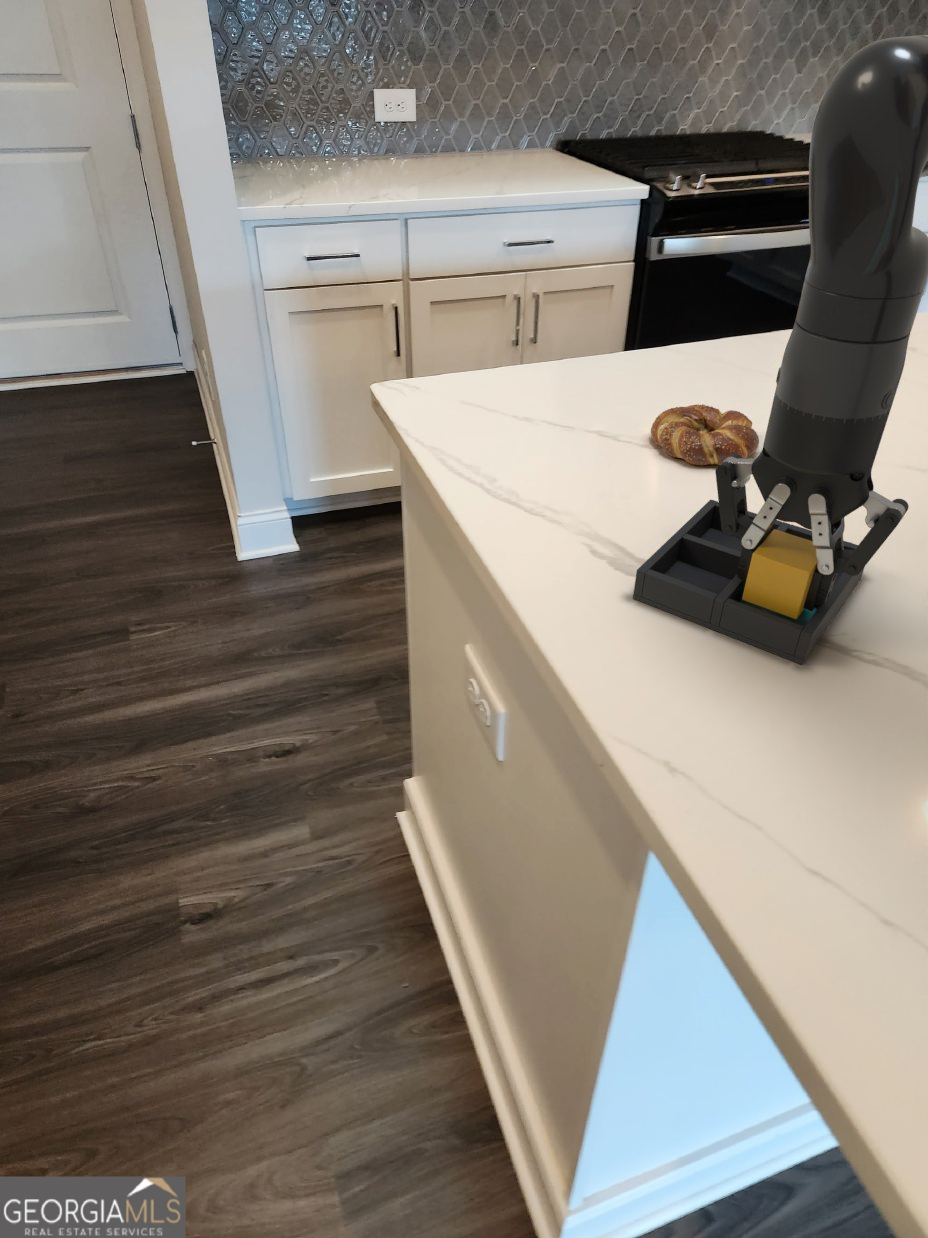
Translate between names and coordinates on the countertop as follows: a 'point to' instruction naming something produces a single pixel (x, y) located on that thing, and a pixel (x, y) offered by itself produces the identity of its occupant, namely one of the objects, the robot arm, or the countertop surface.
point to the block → (781, 573)
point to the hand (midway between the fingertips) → (779, 592)
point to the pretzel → (704, 434)
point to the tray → (731, 588)
